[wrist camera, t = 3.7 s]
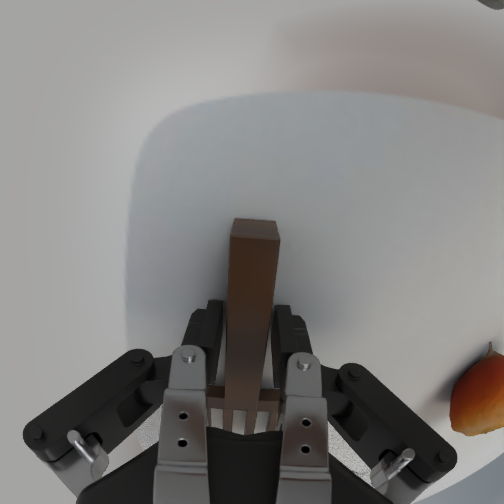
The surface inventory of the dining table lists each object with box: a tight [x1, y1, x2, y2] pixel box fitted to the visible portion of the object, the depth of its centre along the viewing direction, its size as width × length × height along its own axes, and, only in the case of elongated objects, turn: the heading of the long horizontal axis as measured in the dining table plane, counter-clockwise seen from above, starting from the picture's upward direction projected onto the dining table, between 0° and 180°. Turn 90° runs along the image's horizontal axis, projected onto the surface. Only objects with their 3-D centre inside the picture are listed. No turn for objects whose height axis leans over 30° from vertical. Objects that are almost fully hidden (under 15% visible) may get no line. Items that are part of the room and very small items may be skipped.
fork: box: [207, 218, 280, 435], centre depth 14 cm, size 16×5×2 cm, turn 176°
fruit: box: [449, 342, 504, 436], centre depth 14 cm, size 8×8×8 cm
